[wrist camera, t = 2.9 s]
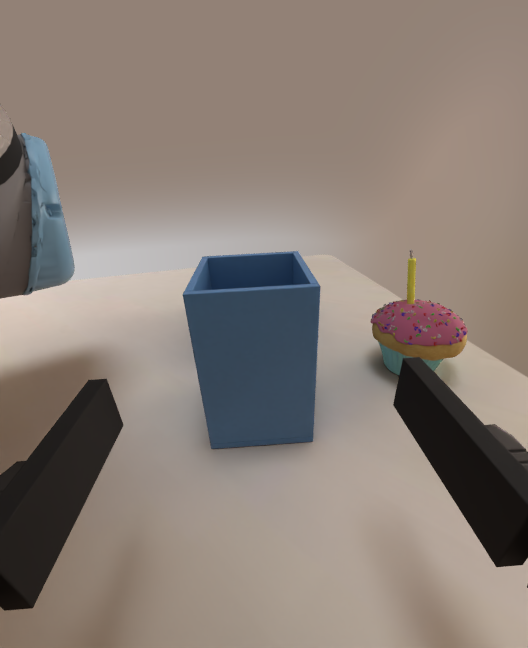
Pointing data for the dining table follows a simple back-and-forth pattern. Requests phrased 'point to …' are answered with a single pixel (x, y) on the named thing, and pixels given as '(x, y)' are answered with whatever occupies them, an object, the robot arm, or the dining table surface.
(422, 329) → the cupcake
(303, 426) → the lone bin
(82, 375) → the dining table surface
